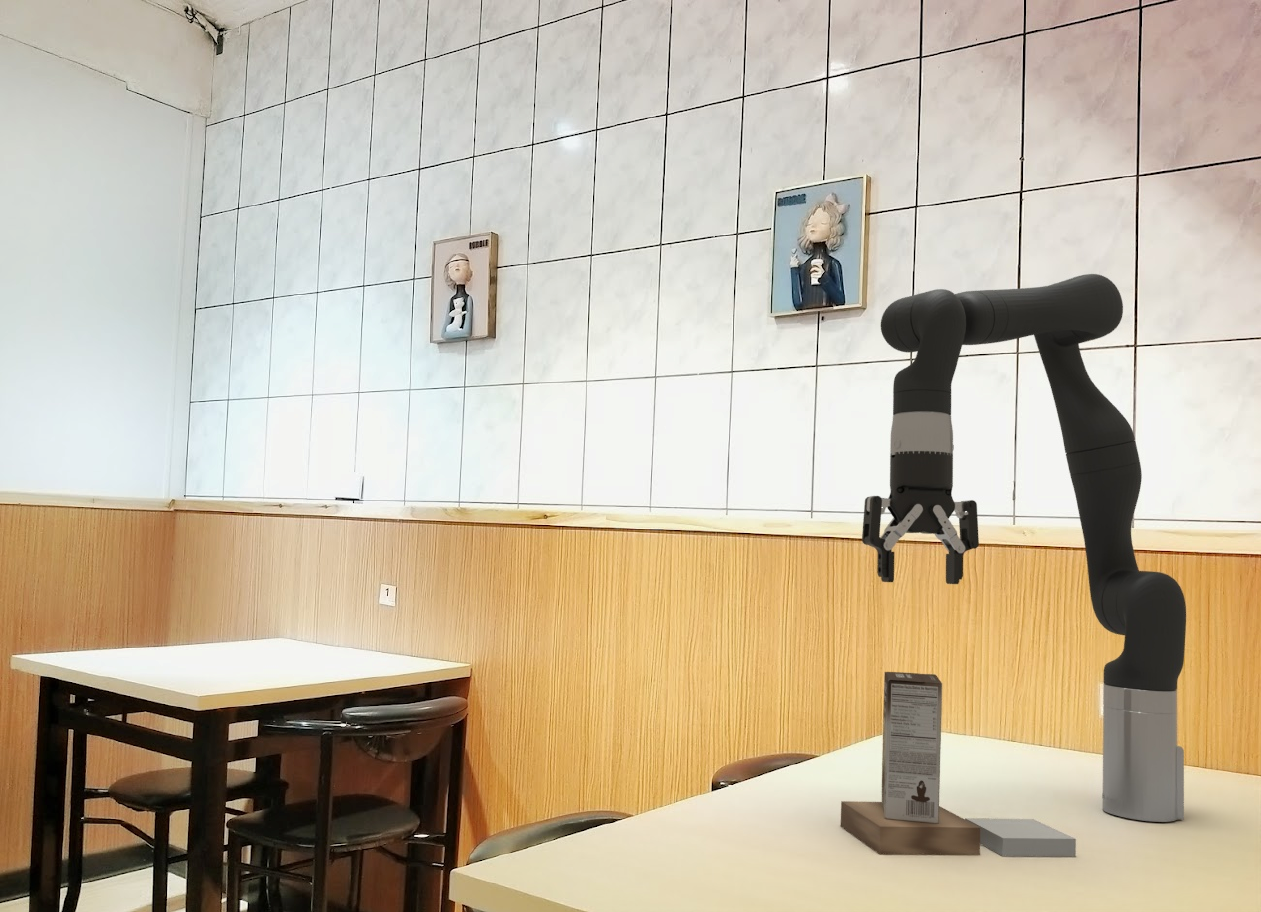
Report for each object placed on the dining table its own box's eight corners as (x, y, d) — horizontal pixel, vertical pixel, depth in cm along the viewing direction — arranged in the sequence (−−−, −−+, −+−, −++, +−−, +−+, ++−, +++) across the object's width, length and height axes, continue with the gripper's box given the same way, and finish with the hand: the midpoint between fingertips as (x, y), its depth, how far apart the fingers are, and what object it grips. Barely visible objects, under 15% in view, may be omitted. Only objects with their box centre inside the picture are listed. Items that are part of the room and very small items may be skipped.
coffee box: (879, 802, 130) (883, 670, 131) (933, 807, 129) (936, 674, 130) (883, 819, 121) (887, 677, 122) (941, 824, 120) (944, 681, 121)
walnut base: (932, 827, 131) (933, 802, 131) (979, 854, 119) (980, 827, 119) (840, 826, 129) (841, 801, 129) (879, 854, 117) (880, 826, 117)
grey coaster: (1033, 835, 129) (1033, 819, 129) (1075, 856, 120) (1075, 838, 121) (964, 835, 128) (965, 818, 128) (1002, 856, 119) (1002, 838, 119)
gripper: (959, 457, 136) (959, 584, 134) (855, 451, 133) (853, 580, 132) (989, 452, 128) (989, 586, 127) (879, 445, 126) (877, 582, 124)
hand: (919, 583), depth 129 cm, fingers open, 8 cm apart
